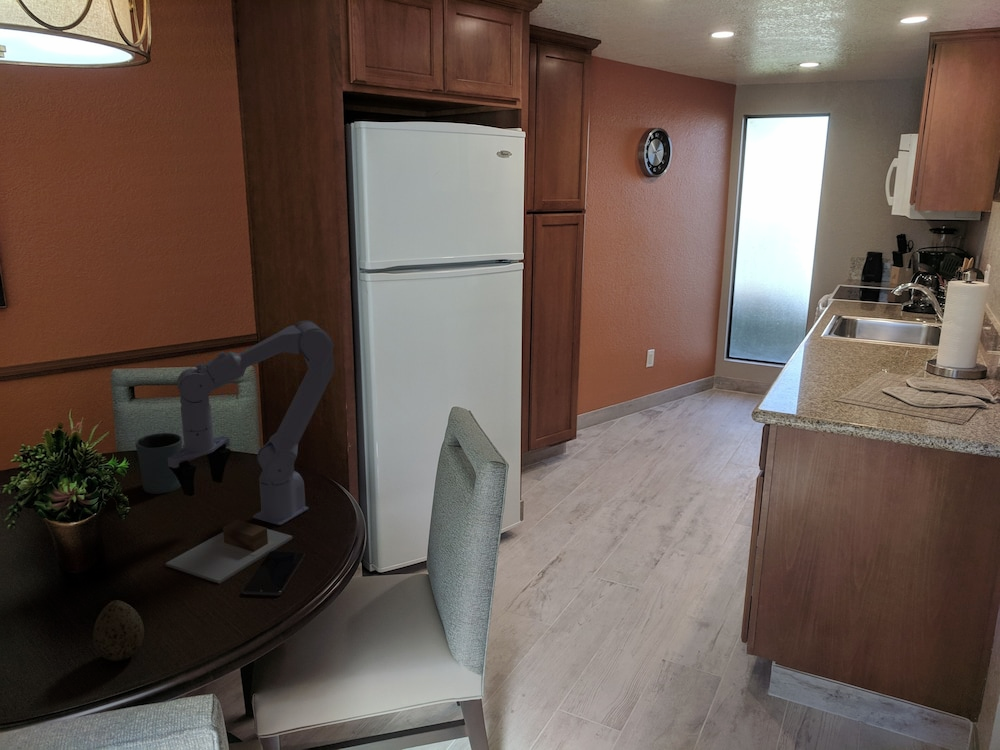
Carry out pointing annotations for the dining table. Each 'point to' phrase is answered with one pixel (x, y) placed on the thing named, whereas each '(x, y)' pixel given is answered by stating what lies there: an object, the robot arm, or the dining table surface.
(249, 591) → the smartphone
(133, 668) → the dining table surface
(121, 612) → the decorative egg
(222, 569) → the mat
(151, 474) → the grey pot
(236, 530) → the brown block
